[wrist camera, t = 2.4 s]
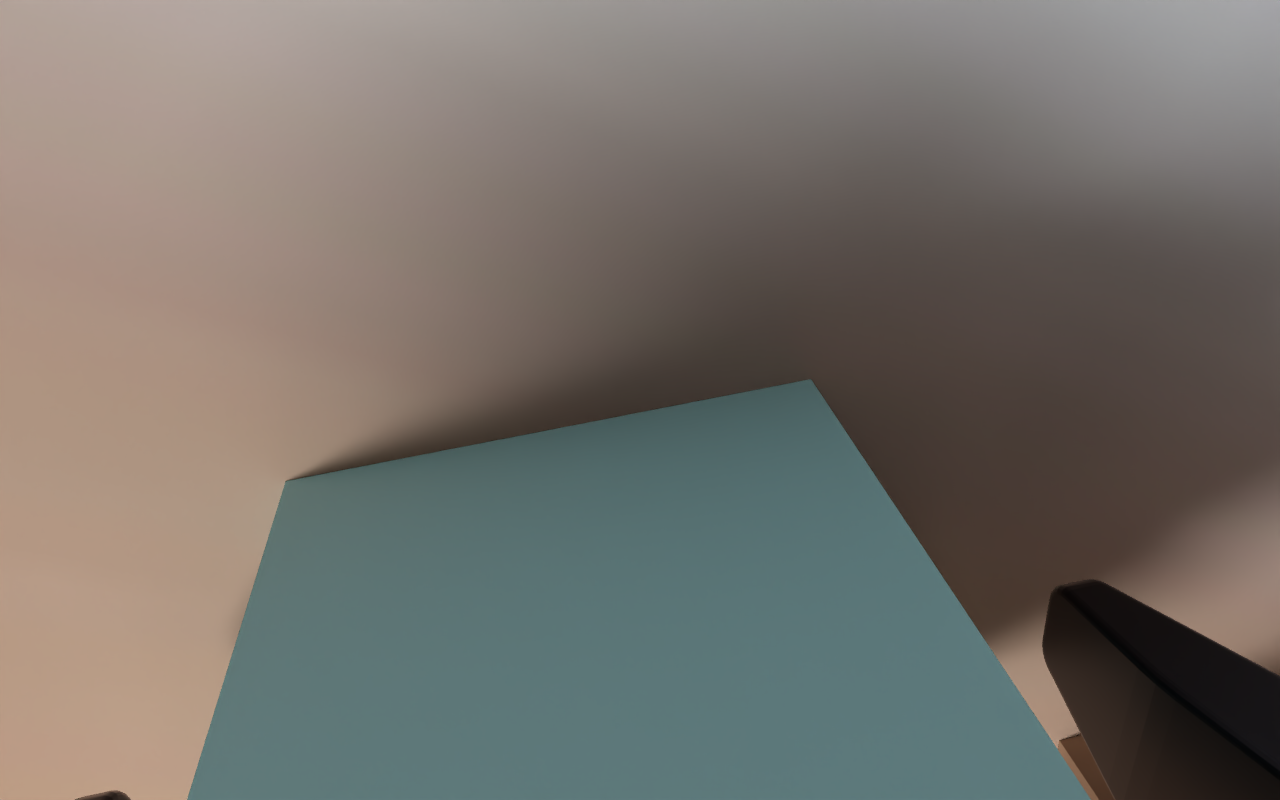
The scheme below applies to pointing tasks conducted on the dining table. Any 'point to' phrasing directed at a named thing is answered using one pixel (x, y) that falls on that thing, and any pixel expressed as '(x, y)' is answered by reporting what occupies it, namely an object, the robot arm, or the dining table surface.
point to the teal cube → (617, 628)
